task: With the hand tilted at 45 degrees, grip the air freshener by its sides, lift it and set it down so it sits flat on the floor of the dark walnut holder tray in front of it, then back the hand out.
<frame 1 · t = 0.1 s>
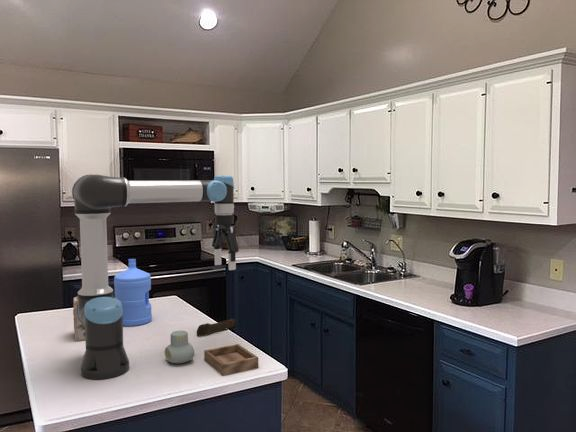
hand: (224, 267, 198), 28 cm above the counter, tool pointing down, fingers open, 13 cm apart
decorative jar: (90, 336, 201), on the counter
tray: (230, 363, 170), on the counter
water jug: (133, 322, 221), on the counter
air freshener: (179, 361, 173), on the counter
hand tool: (217, 332, 206), on the counter
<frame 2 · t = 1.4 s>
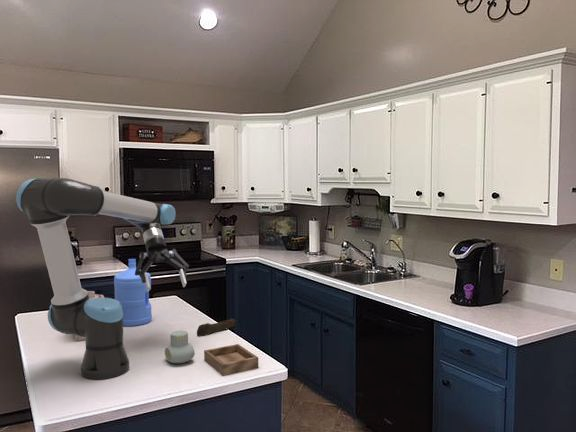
hand: (167, 287, 183), 23 cm above the counter, tool tilted 45°, fingers open, 13 cm apart
nothing on the counter moved.
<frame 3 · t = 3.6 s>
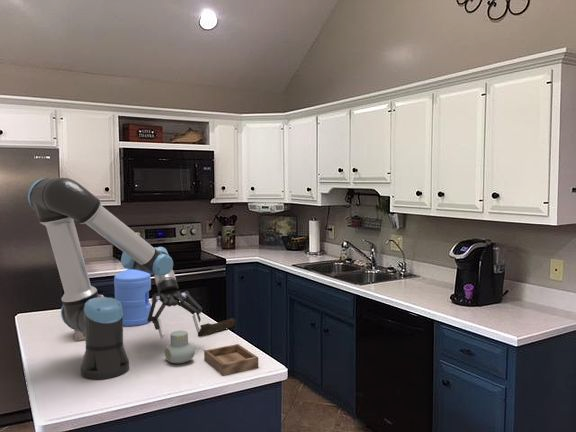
hand: (181, 333, 177), 8 cm above the counter, tool tilted 45°, fingers open, 13 cm apart
nothing on the counter moved.
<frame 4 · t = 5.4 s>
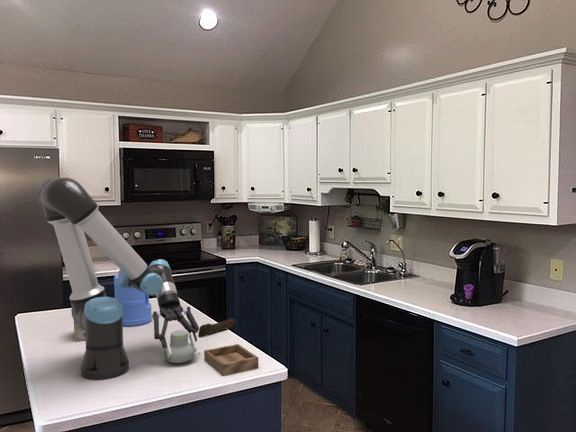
hand: (182, 353, 170), 4 cm above the counter, tool tilted 45°, fingers closed on air freshener, 8 cm apart
air freshener: (179, 361, 173), on the counter, touching gripper
everything else where it was.
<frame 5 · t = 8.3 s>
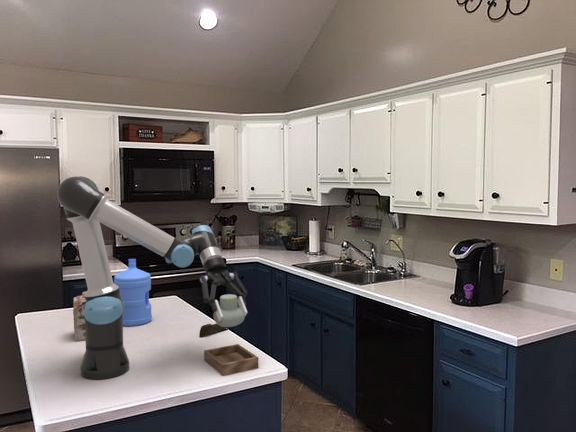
hand: (233, 316, 166), 17 cm above the counter, tool tilted 45°, fingers closed on air freshener, 8 cm apart
air freshener: (229, 325, 170), point 13 cm above the counter, touching gripper
everything else where it was.
when the fingers open (6 cm above the counter, at t = 11.5 s): air freshener stays where it is, resting on tray.
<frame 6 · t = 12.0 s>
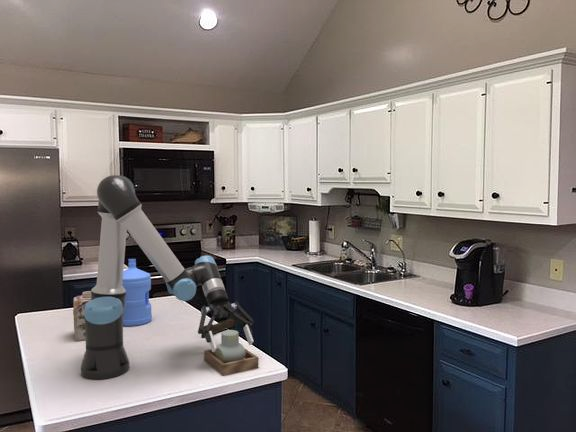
hand: (233, 346, 167), 7 cm above the counter, tool tilted 45°, fingers open, 13 cm apart
air freshener: (230, 361, 170), point 1 cm above the counter, touching tray
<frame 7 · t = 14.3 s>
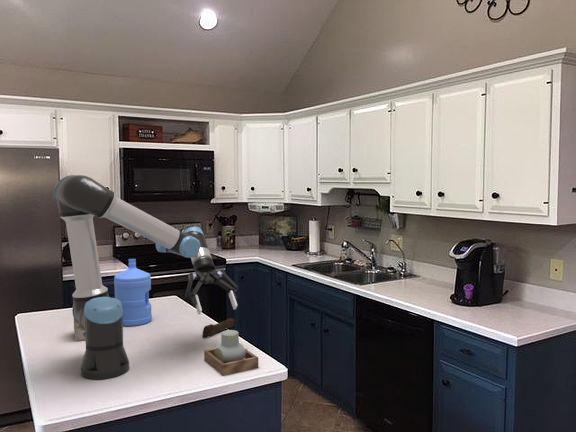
hand: (218, 310, 177), 16 cm above the counter, tool tilted 45°, fingers open, 13 cm apart
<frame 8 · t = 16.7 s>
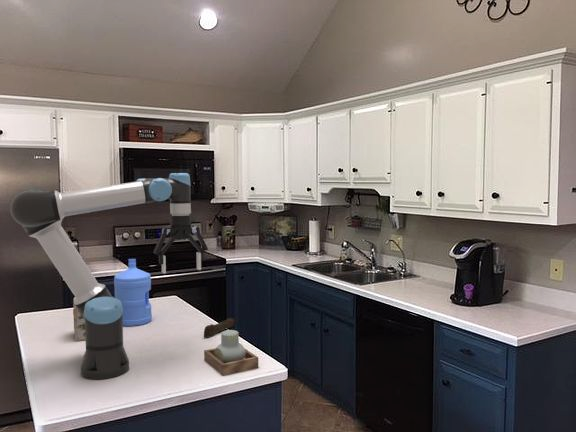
hand: (181, 271, 186), 29 cm above the counter, tool pointing down, fingers open, 13 cm apart
at the end: air freshener 0.2 cm off-centre on the tray, point 0.8 cm above the tray's base; air freshener tilted 0°; the gripper is holding nothing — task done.
